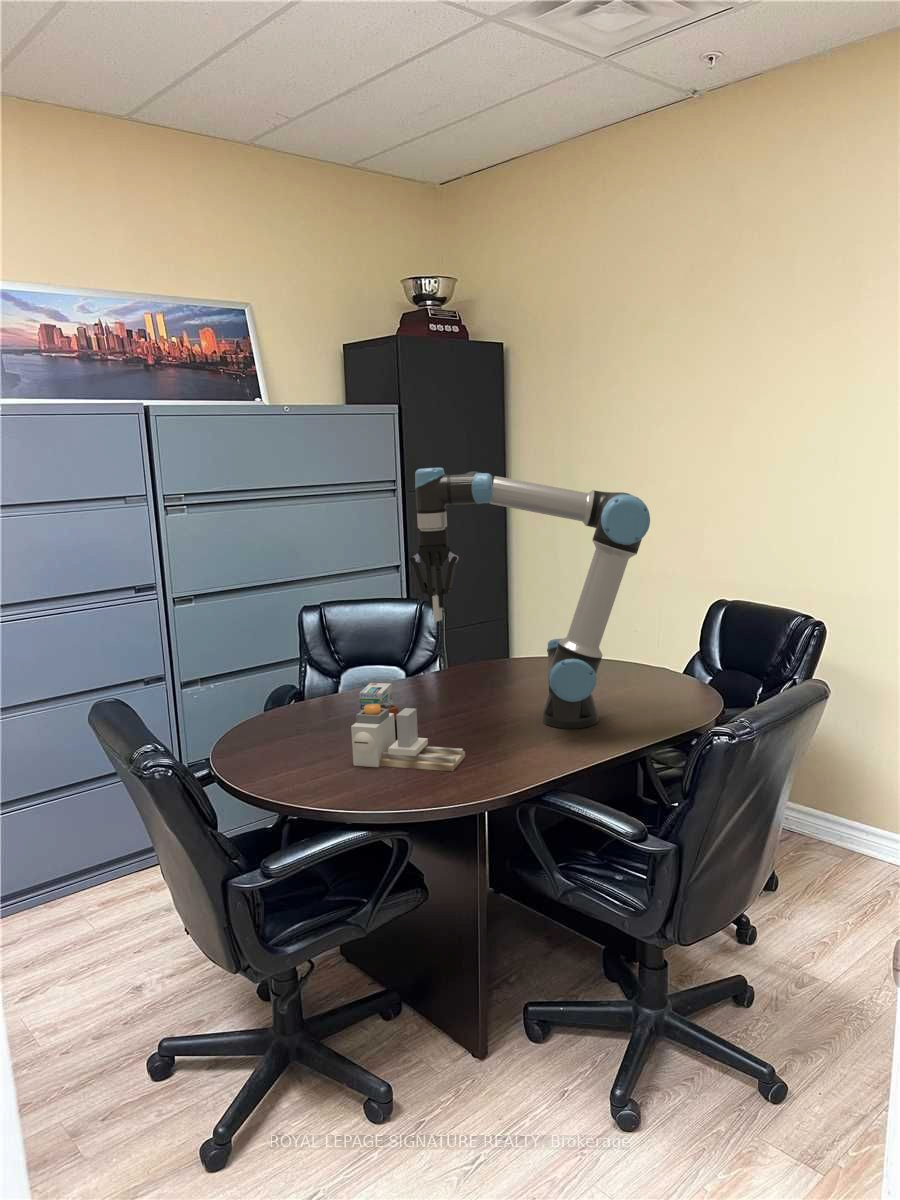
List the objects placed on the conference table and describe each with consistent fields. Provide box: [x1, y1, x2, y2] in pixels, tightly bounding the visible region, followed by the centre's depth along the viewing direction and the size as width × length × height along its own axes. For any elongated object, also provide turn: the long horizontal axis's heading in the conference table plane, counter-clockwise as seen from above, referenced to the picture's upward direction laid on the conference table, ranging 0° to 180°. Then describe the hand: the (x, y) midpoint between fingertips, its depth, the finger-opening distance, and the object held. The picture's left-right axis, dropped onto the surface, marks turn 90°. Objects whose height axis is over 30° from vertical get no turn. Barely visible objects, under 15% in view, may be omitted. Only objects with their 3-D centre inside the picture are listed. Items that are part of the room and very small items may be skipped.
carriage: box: [388, 707, 429, 756], centre depth 224 cm, size 7×9×10 cm
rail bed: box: [380, 745, 466, 772], centre depth 224 cm, size 18×10×3 cm, turn 72°
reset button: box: [364, 704, 381, 715], centre depth 227 cm, size 4×4×3 cm
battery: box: [378, 701, 399, 741], centre depth 243 cm, size 4×7×10 cm, turn 39°
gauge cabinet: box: [350, 709, 397, 768], centre depth 227 cm, size 6×13×12 cm, turn 162°
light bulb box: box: [359, 682, 394, 712], centre depth 255 cm, size 11×7×11 cm, turn 168°
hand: (438, 619), depth 237 cm, fingers closed
